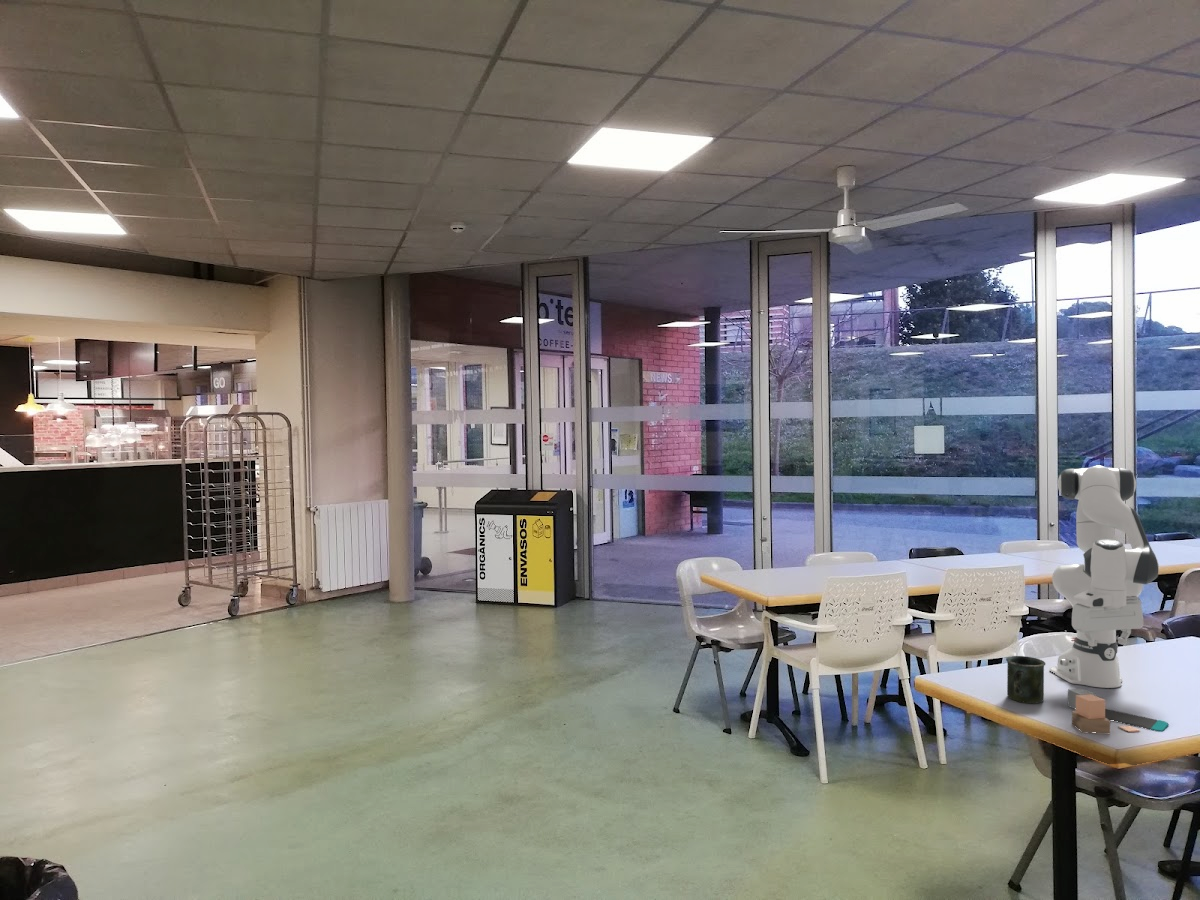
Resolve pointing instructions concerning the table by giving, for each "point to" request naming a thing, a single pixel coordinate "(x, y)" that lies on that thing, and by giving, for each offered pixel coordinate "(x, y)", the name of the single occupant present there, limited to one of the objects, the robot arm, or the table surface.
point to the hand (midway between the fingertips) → (1107, 645)
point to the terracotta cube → (1090, 706)
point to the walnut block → (1090, 724)
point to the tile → (1129, 728)
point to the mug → (1025, 679)
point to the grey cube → (1073, 693)
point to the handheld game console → (1136, 720)
